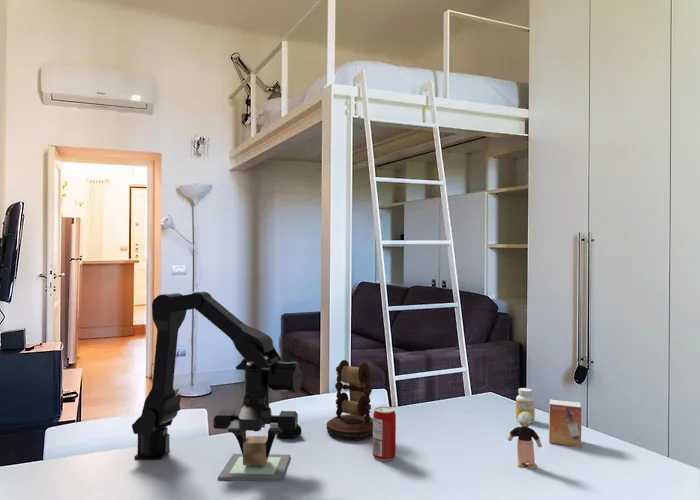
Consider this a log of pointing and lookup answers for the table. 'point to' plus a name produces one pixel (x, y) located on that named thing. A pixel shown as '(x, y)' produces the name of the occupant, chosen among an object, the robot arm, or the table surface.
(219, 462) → the table surface
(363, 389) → the wooden spool holder
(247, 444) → the cube
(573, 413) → the small box
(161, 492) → the table surface
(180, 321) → the robot arm
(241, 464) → the mat
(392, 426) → the soda can
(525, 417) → the grandmother figurine
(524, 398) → the supplement bottle
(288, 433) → the tape measure
